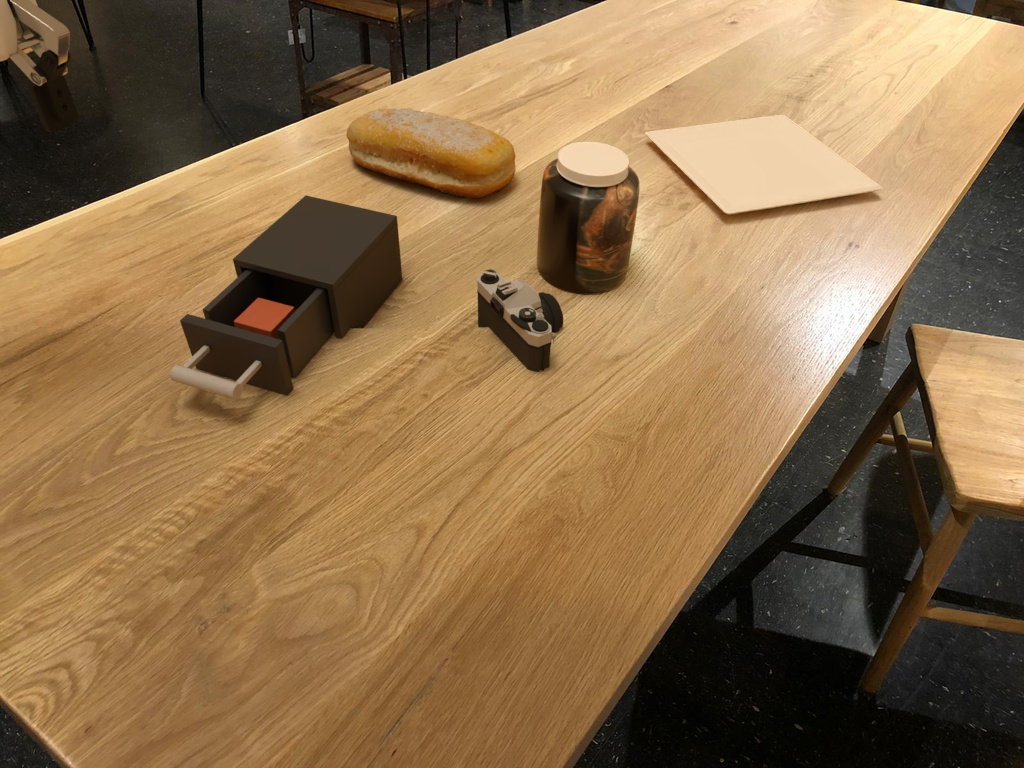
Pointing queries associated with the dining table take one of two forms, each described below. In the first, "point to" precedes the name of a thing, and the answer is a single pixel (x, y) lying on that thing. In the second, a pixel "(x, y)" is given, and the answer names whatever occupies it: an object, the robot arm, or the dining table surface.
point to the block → (264, 317)
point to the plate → (760, 163)
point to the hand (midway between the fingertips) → (18, 115)
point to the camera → (519, 317)
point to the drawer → (254, 337)
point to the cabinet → (332, 256)
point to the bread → (432, 151)
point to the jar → (587, 218)
